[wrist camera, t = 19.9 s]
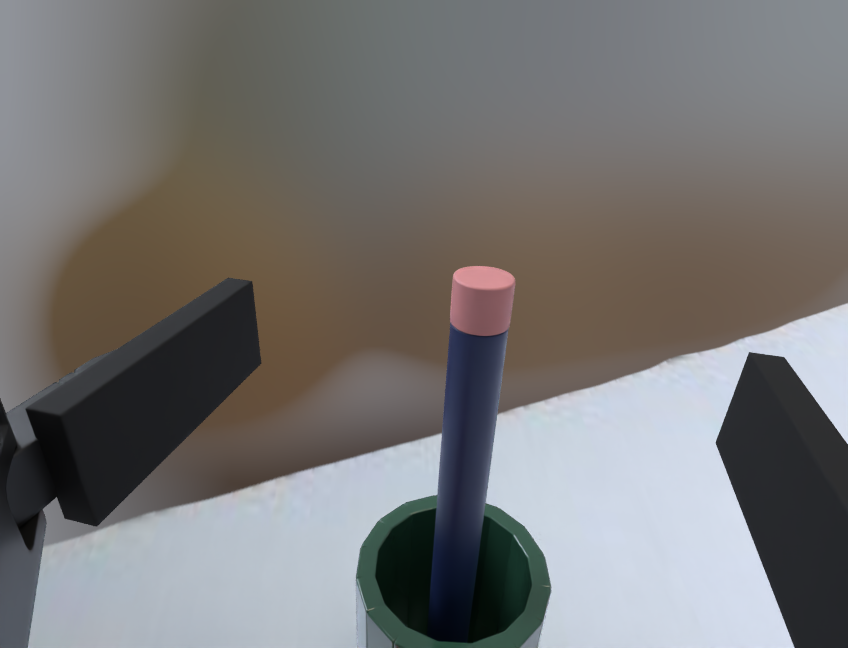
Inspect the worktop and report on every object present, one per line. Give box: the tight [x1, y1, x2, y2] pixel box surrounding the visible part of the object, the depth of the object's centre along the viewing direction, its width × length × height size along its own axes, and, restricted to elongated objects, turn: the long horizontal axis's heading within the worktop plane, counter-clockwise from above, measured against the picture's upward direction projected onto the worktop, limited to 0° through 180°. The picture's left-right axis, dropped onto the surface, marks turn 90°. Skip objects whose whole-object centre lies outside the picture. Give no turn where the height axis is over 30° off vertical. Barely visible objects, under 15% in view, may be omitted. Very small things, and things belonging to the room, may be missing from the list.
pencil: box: [427, 266, 515, 643], centre depth 16 cm, size 1×1×18 cm
